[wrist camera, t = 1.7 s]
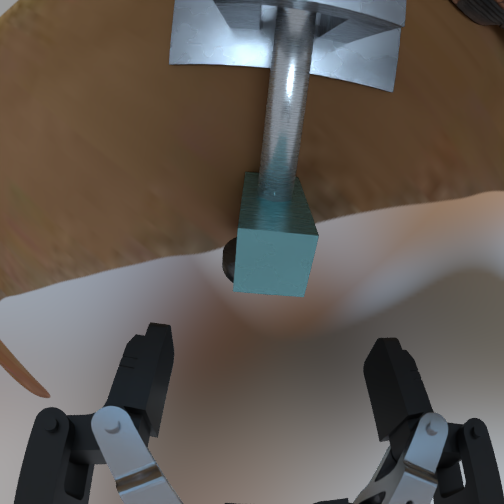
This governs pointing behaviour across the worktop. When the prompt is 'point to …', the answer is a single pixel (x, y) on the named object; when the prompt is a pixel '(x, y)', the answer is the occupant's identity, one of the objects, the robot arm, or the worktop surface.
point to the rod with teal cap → (278, 176)
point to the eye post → (263, 29)
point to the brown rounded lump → (483, 11)
